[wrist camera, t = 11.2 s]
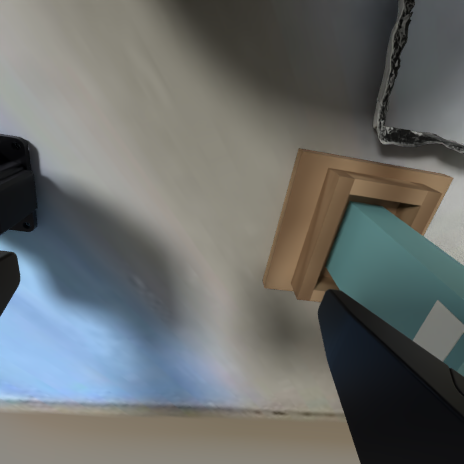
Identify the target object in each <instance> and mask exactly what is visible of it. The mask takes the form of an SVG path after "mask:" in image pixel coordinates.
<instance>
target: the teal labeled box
mask: <svg viewBox="0 0 464 464" xmlns="http://www.w3.org/2000/svg"><path fill="white" fill-rule="evenodd" d="M325 267H326V268H327V270H328V272H329V273H330V275H331V276H332V278H333V280H334V281H335V283H336V285H337V286H338V288H339V290H341V291H343V292H344V293H345V294H347V295H348V296H350V297H351V298H353V299H354V300H355V301H357V302H358V303H360V304H361V305H363V306H364V307H365V308H367V309H368V310H370V311H371V312H372V313H374V314H375V315H377V316H378V317H380V318H381V319H382V320H384V321H385V322H387V323H388V324H390V325H391V326H392V327H394V328H395V329H397V330H398V331H400V332H401V333H402V334H404V335H405V336H407V337H408V338H410V339H411V340H412V341H414V342H415V343H417V344H418V345H419V346H421V347H422V348H424V349H425V350H427V351H428V352H429V353H431V354H432V355H434V356H435V357H437V358H438V359H439V360H441V361H442V362H444V363H445V364H447V365H448V366H449V368H452V369H454V370H455V371H457V372H458V373H459V374H461V375H462V376H464V266H463V265H462V264H460V263H459V262H458V261H456V260H455V259H454V258H452V257H451V256H449V255H448V254H447V253H445V252H444V251H443V250H441V249H440V248H439V247H437V246H436V245H434V244H433V243H432V242H430V241H429V240H428V239H426V238H425V237H424V236H422V235H421V234H419V233H418V232H417V231H415V230H414V229H413V228H411V227H410V226H409V225H407V224H406V223H404V222H403V221H402V220H400V219H399V218H398V217H396V216H395V215H394V214H392V213H391V212H389V211H388V210H387V209H385V208H384V207H383V206H379V205H373V204H366V203H360V202H353V201H349V203H348V206H347V209H346V211H345V214H344V217H343V219H342V222H341V225H340V227H339V230H338V233H337V235H336V238H335V241H334V243H333V246H332V249H331V251H330V254H329V257H328V259H327V262H326V265H325Z"/></svg>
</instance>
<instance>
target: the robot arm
mask: <svg viewBox="0 0 464 464" xmlns="http://www.w3.org/2000/svg"><path fill="white" fill-rule="evenodd" d="M15 142H17V143H18V144H19V145H20V149H19V148H17V147H16V145H15ZM36 209H37V198H36V189H35V181H34V174H33V173H32V172H31V167H30V158H29V150H28V144H27V142H26V141H25V140H24V139H23V138H20V137H17V136H10V135H4V134H0V236H1V235H2V234H3V233H5V232H6V231H7V230H17V231H25V232H31V231H33V230H34V229H35V228H36V227H37V218H36ZM26 222H27V223H29V224H30V226H28V225H27V224H26ZM19 283H20V271H19V265H18V259H17V255H16V254H15V253H14V252H8V251H0V316H1V315H2V313H3V311H4V310H5V308H6V306H7V304H8V303H9V301H10V299H11V298H12V296H13V294H14V293H15V291H16V289H17V287H18V286H19ZM318 319H319V324H320V328H321V333H322V338H323V343H324V347H325V352H326V357H327V361H328V364H329V368H330V371H331V374H332V377H333V380H334V383H335V386H336V389H337V392H338V395H339V398H340V402H341V405H342V408H343V411H344V414H345V417H346V420H347V423H348V426H349V429H350V432H351V435H352V438H353V442H354V445H355V448H356V451H357V454H358V457H359V460H360V463H361V464H464V376H462V375H461V374H459V373H458V372H457V371H455V370H454V369H452V368H449V366H448V365H447V364H445V363H444V362H442V361H441V360H439V359H438V358H437V357H435V356H434V355H432V354H431V353H429V352H428V351H427V350H425V349H424V348H422V347H421V346H419V345H418V344H417V343H415V342H414V341H412V340H411V339H410V338H408V337H407V336H405V335H404V334H402V333H401V332H400V331H398V330H397V329H395V328H394V327H392V326H391V325H390V324H388V323H387V322H385V321H384V320H382V319H381V318H380V317H378V316H377V315H375V314H374V313H372V312H371V311H370V310H368V309H367V308H365V307H364V306H363V305H361V304H360V303H358V302H357V301H355V300H354V299H353V298H351V297H350V296H348V295H347V294H345V293H344V292H343V291H341V290H335V289H328V290H326V292H325V294H324V296H323V299H322V301H321V304H320V306H319V309H318Z"/></svg>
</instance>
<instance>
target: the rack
mask: <svg viewBox="0 0 464 464" xmlns="http://www.w3.org/2000/svg"><path fill="white" fill-rule="evenodd" d="M452 180H453V178H452V177H450V176H447V175H445V174H440V173H435V172H429V171H423V170H418V169H412V168H407V167H401V166H395V165H390V164H384V163H379V162H373V161H367V160H362V159H356V158H351V157H345V156H339V155H334V154H328V153H323V152H317V151H311V150H306V149H300V148H299V150H298V153H297V157H296V161H295V164H294V168H293V172H292V175H291V179H290V183H289V186H288V190H287V194H286V197H285V201H284V204H283V208H282V212H281V215H280V219H279V223H278V226H277V230H276V234H275V237H274V241H273V245H272V248H271V252H270V256H269V259H268V263H267V267H266V270H265V274H264V278H263V284H264V288H269V289H278V290H287V291H294V293H295V295H296V298H297V299H298V300H307V301H317V302H321V301H322V299H323V296H324V294H325V292H326V290H328V289H335V290H339V288H338V286H337V285H336V283H335V281H334V280H333V278H332V276H331V275H330V273H329V272H328V270H327V268H326V267H325V265H326V262H327V259H328V257H329V254H330V251H331V249H332V246H333V243H334V241H335V238H336V235H337V233H338V230H339V227H340V225H341V222H342V219H343V217H344V214H345V211H346V209H347V206H348V203H349V201H353V202H360V203H366V204H373V205H379V206H383V207H384V208H385V209H387V210H388V211H389V212H391V213H392V214H394V215H395V216H396V217H398V218H399V219H400V220H402V221H403V222H404V223H406V224H407V225H409V226H410V227H411V228H413V229H414V230H415V231H417V232H418V233H419V234H421V235H422V236H424V234H425V232H426V230H427V228H428V226H429V224H430V222H431V220H432V218H433V216H434V215H435V213H436V211H437V209H438V207H439V205H440V203H441V201H442V199H443V197H444V195H445V193H446V191H447V190H448V188H449V186H450V184H451V182H452Z"/></svg>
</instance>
